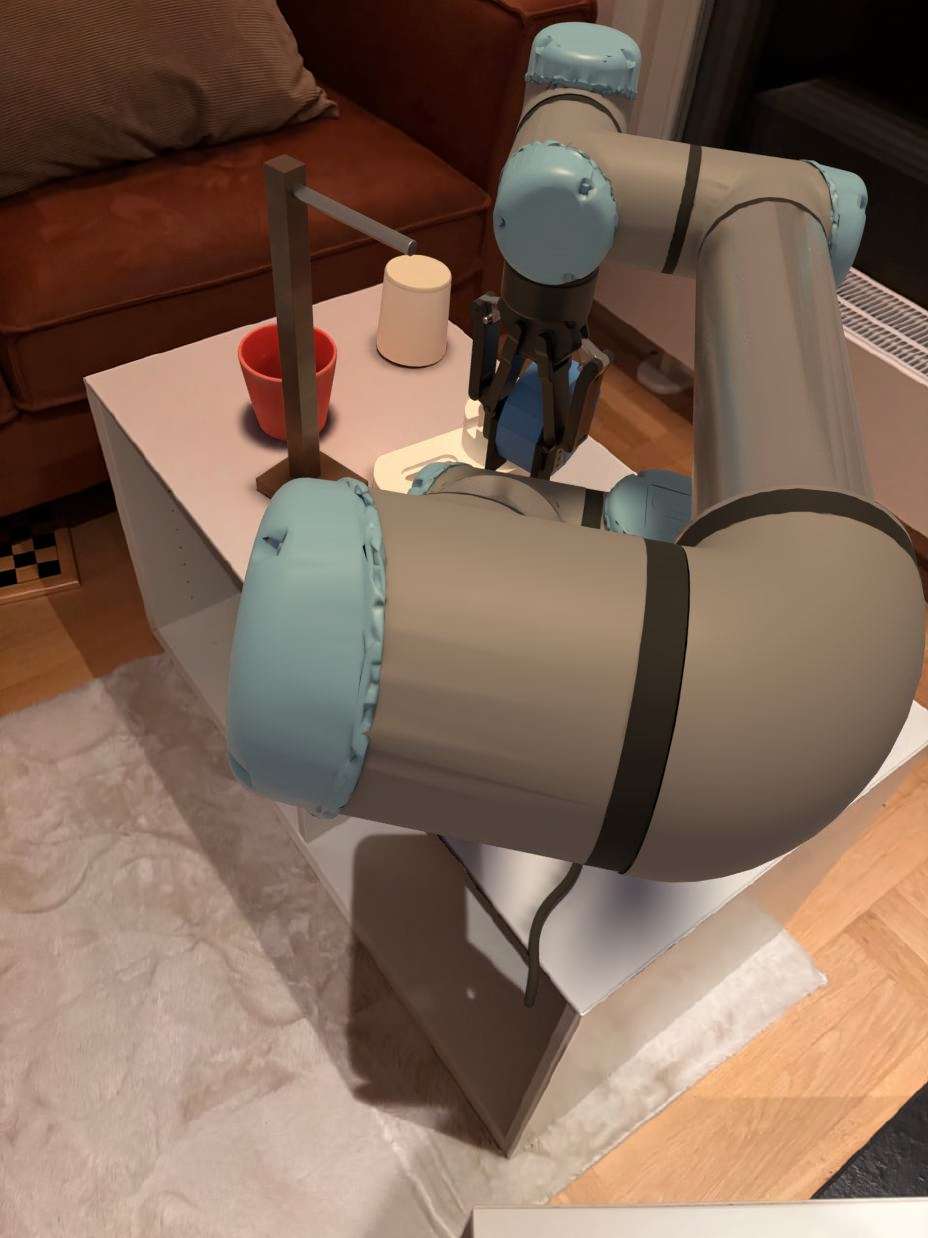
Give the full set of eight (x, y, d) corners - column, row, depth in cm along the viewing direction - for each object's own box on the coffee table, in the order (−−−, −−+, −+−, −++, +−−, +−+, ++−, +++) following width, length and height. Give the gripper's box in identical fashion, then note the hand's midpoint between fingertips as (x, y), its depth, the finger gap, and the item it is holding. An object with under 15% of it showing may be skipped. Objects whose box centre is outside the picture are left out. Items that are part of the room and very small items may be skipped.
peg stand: (425, 527, 98) (447, 208, 72) (374, 568, 94) (377, 244, 67) (308, 453, 104) (289, 133, 78) (256, 489, 100) (216, 163, 73)
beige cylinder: (370, 278, 108) (366, 354, 116) (443, 298, 108) (434, 373, 115) (400, 238, 116) (394, 312, 123) (468, 256, 115) (458, 329, 123)
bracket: (507, 426, 110) (514, 379, 105) (550, 470, 106) (560, 423, 101) (359, 479, 102) (359, 431, 97) (399, 528, 98) (401, 481, 93)
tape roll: (610, 352, 87) (542, 405, 81) (588, 444, 95) (526, 498, 89) (571, 333, 88) (502, 383, 82) (553, 425, 97) (490, 477, 91)
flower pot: (357, 414, 110) (357, 343, 102) (301, 463, 103) (295, 392, 96) (286, 380, 112) (280, 309, 105) (226, 427, 106) (215, 355, 99)
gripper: (673, 280, 71) (611, 501, 89) (493, 198, 78) (469, 421, 95) (621, 319, 67) (568, 543, 85) (436, 229, 73) (423, 456, 91)
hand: (516, 478), depth 90 cm, fingers closed on tape roll, 4 cm apart
